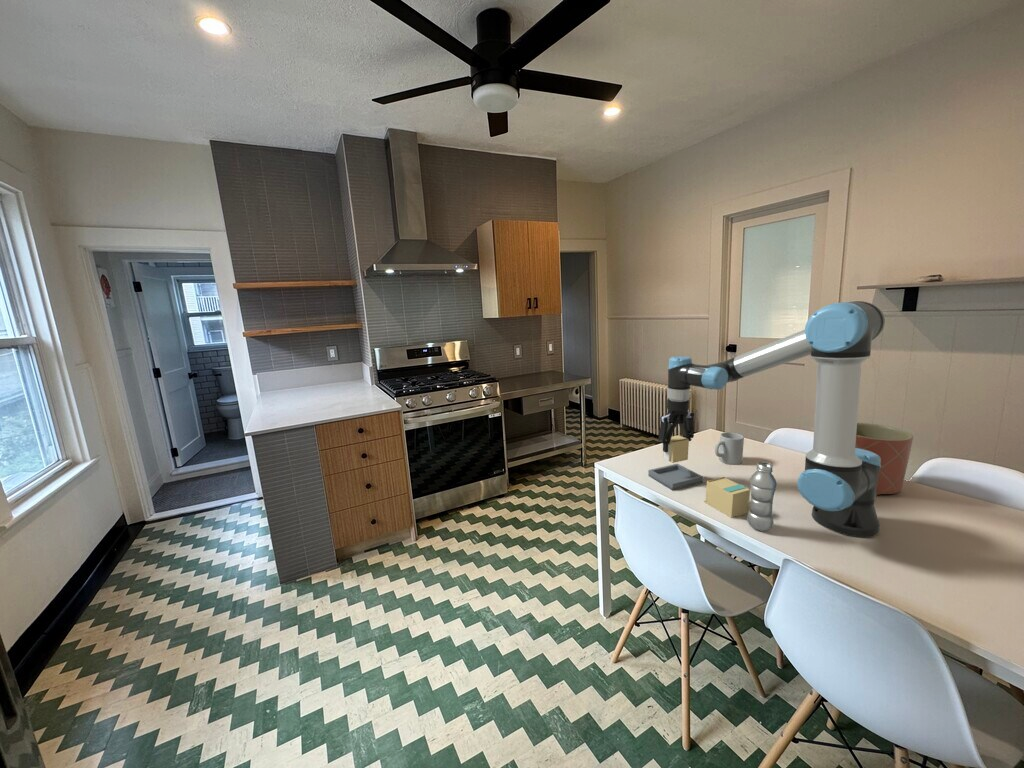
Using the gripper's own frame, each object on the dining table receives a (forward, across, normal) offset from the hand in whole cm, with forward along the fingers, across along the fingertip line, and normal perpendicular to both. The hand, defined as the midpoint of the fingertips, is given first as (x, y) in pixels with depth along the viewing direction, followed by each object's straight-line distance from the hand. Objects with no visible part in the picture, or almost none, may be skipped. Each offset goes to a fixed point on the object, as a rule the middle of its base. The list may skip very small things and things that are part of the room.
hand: (675, 457), depth 145 cm
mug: (+9, -31, -4) cm, 32 cm away
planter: (+8, -56, +31) cm, 64 cm away
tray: (+9, 0, 0) cm, 9 cm away
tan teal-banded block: (+8, 0, +23) cm, 25 cm away
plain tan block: (0, 0, 0) cm, 0 cm away
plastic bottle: (+8, 0, +35) cm, 36 cm away
